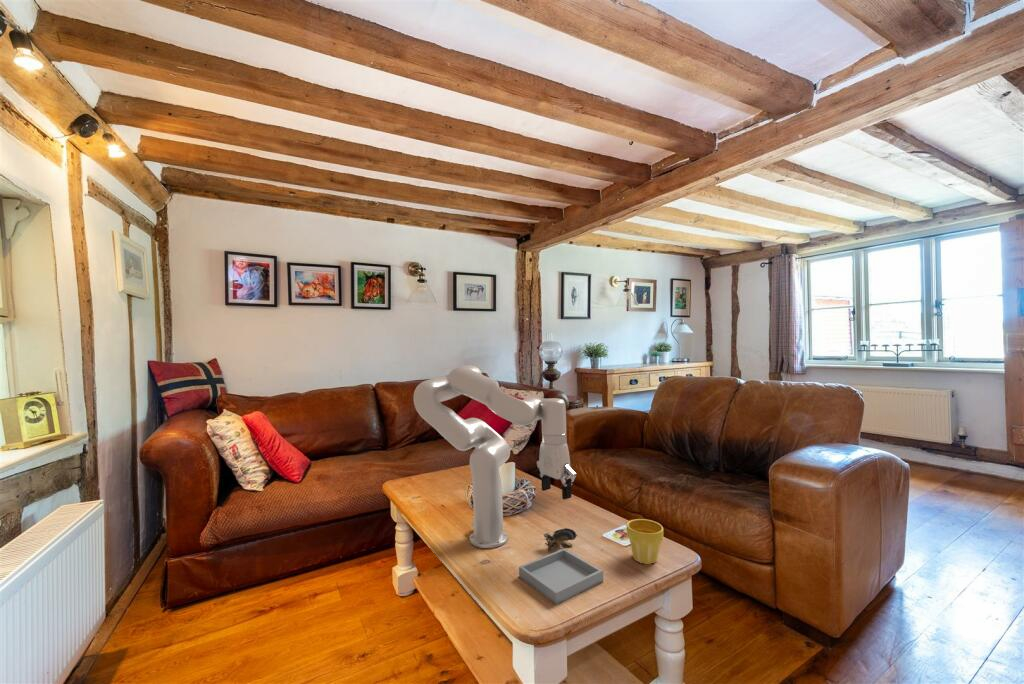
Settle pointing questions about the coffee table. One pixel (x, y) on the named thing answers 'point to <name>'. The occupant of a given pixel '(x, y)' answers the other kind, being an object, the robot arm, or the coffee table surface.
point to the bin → (560, 575)
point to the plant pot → (645, 539)
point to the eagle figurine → (560, 538)
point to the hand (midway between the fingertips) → (556, 493)
